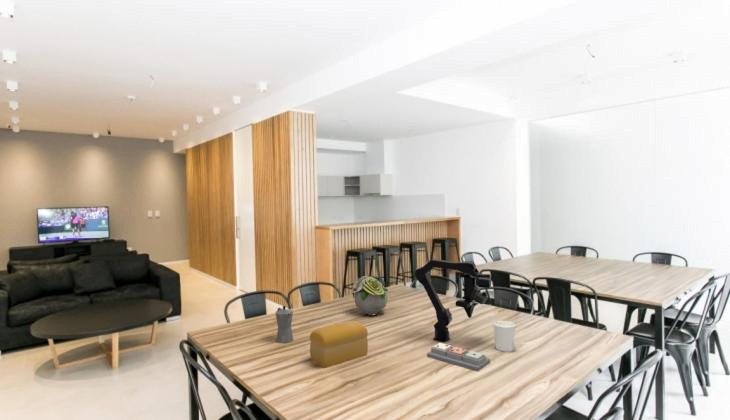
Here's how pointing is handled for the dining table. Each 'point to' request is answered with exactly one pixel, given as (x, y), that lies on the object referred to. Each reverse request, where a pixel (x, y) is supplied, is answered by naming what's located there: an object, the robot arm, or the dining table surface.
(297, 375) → the dining table surface
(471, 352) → the tile one dot
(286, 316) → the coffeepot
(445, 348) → the tile two dots
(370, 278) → the flower arrangement
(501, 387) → the dining table surface
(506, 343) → the candle holder
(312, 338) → the bread
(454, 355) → the button board
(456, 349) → the tile three dots
